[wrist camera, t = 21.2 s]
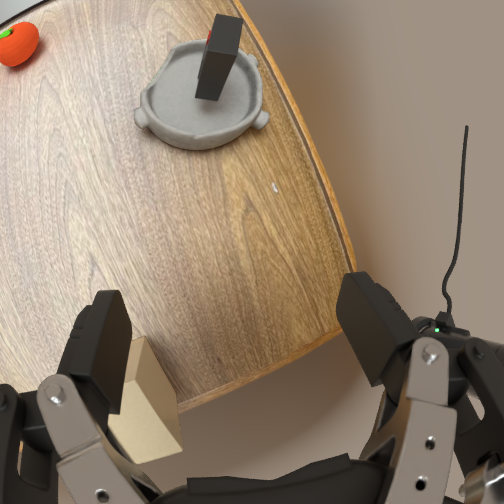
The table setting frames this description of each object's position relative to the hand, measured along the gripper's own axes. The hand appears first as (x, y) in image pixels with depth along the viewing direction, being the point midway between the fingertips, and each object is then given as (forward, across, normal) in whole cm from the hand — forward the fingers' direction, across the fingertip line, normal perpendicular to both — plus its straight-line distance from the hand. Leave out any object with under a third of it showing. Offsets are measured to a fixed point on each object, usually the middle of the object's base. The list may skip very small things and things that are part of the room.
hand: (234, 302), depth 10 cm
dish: (+28, +1, -6) cm, 28 cm away
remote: (+23, 0, -9) cm, 25 cm away
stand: (+11, +11, +20) cm, 26 cm away
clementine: (+30, +29, -19) cm, 46 cm away
